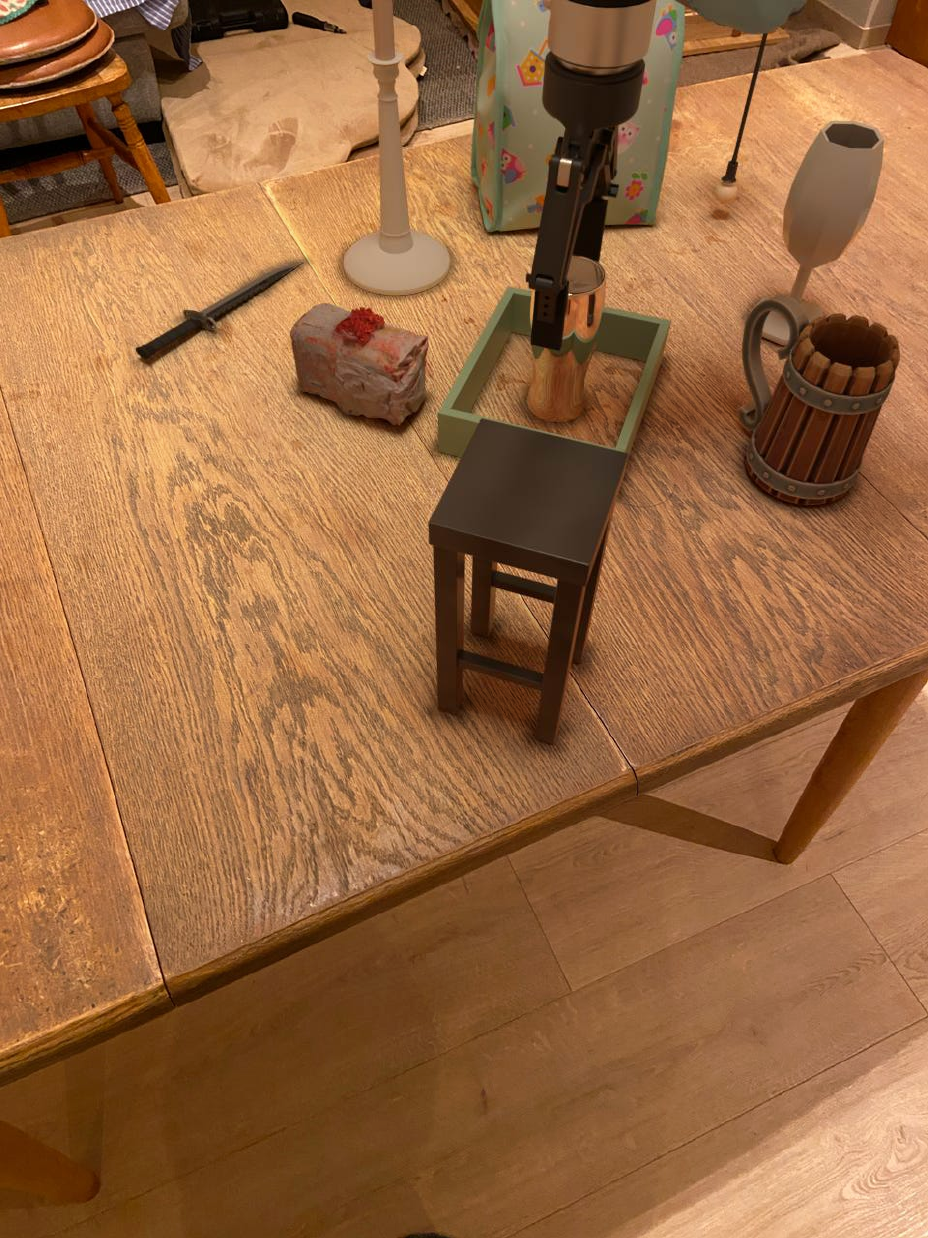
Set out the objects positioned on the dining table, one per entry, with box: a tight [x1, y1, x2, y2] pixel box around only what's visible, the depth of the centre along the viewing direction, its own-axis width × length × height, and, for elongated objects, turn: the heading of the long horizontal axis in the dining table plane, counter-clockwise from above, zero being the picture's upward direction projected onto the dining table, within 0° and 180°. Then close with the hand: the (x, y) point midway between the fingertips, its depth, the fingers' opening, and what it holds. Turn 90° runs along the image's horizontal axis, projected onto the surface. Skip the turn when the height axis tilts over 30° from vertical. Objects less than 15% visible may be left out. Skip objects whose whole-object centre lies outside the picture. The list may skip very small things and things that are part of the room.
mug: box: [737, 293, 901, 506], centre depth 83 cm, size 16×11×15 cm
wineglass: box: [748, 120, 885, 346], centre depth 93 cm, size 9×9×21 cm
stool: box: [427, 418, 629, 745], centre depth 64 cm, size 10×10×22 cm
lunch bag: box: [470, 0, 686, 233], centre depth 106 cm, size 23×16×27 cm
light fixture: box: [714, 2, 807, 205], centre depth 105 cm, size 7×7×25 cm
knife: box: [135, 261, 304, 360], centre depth 102 cm, size 25×2×5 cm
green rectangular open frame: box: [437, 285, 672, 458], centre depth 91 cm, size 18×22×5 cm
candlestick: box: [343, 0, 451, 296], centre depth 96 cm, size 13×13×30 cm
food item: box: [289, 302, 430, 426], centre depth 90 cm, size 14×8×10 cm, turn 64°
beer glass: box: [526, 254, 608, 423], centre depth 87 cm, size 7×7×15 cm
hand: (566, 302), depth 84 cm, fingers open, 13 cm apart
